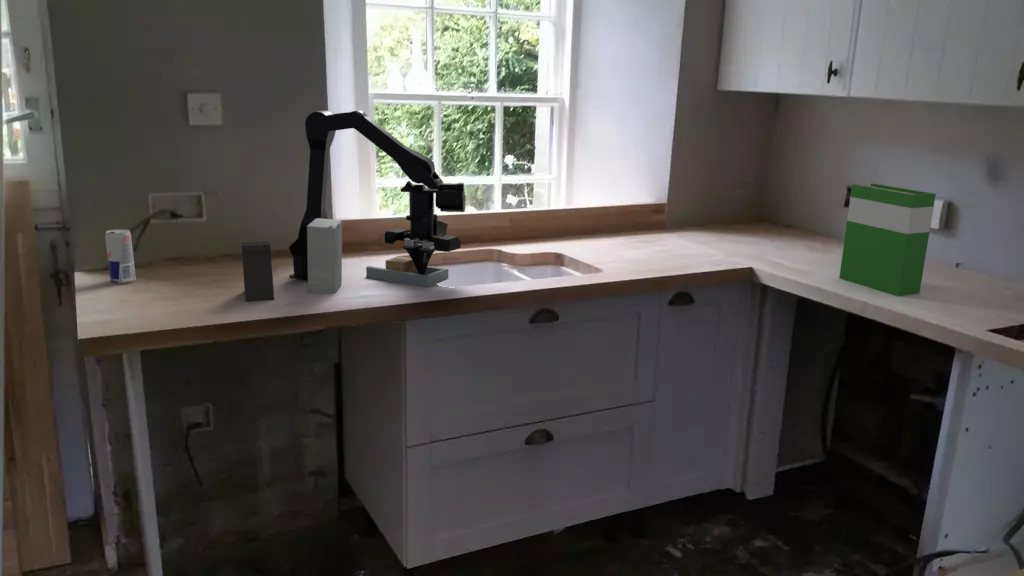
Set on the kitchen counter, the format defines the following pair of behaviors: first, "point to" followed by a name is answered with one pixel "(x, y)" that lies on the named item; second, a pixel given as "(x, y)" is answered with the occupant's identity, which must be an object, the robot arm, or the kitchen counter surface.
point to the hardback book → (887, 238)
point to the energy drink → (120, 256)
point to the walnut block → (401, 264)
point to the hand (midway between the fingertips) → (422, 274)
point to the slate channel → (409, 275)
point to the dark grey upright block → (257, 271)
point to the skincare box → (324, 255)
